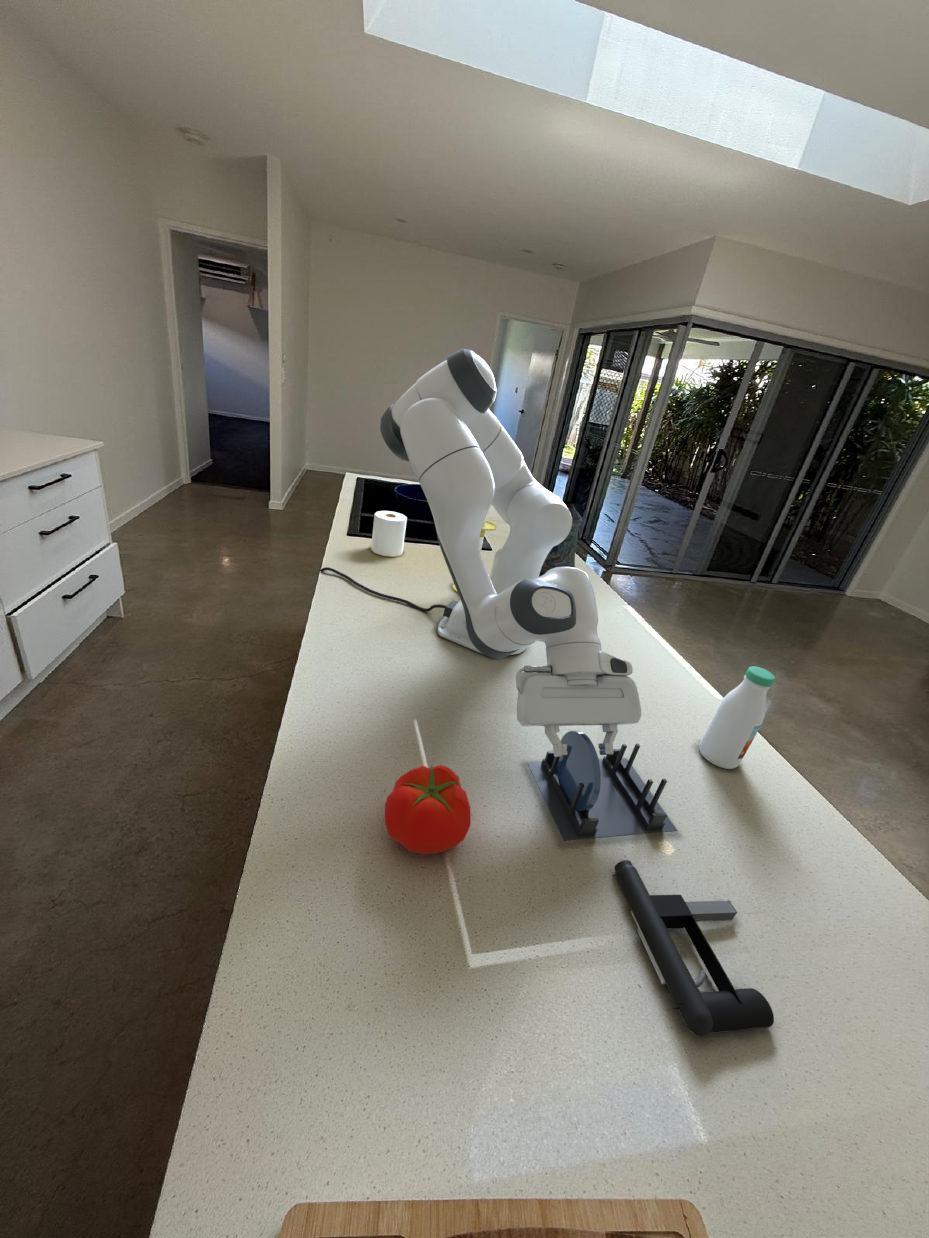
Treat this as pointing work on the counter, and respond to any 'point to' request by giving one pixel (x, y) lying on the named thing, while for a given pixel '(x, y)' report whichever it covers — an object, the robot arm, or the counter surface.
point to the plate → (579, 770)
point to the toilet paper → (388, 533)
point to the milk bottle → (737, 720)
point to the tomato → (428, 810)
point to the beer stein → (564, 545)
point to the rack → (604, 800)
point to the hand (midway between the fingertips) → (584, 755)
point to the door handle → (695, 1007)
